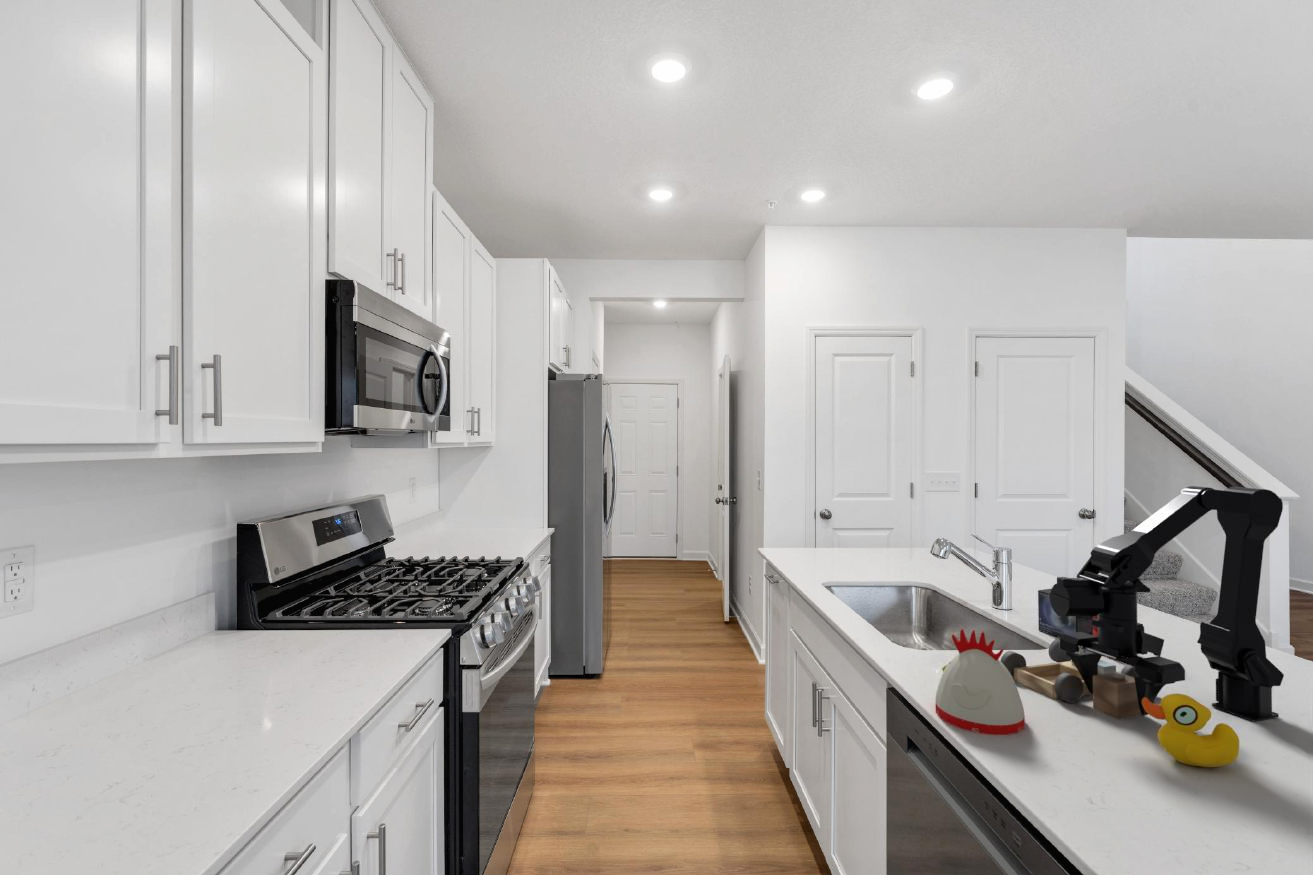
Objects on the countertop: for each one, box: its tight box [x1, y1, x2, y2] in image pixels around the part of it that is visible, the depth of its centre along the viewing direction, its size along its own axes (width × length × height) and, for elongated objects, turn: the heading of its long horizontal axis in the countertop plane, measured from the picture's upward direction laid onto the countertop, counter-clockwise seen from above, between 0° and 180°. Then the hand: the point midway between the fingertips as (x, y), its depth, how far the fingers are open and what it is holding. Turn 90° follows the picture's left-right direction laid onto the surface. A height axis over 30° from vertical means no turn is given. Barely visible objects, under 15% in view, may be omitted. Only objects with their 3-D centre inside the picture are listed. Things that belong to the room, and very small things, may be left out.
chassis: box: [1000, 650, 1139, 704], centre depth 123 cm, size 14×21×5 cm
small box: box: [1037, 588, 1093, 639], centre depth 154 cm, size 11×6×10 cm, turn 17°
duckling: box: [1142, 693, 1240, 768], centre depth 93 cm, size 11×5×10 cm, turn 66°
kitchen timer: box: [935, 628, 1026, 736], centre depth 109 cm, size 14×14×15 cm
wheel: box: [1048, 638, 1071, 663], centre depth 135 cm, size 2×5×5 cm, turn 106°
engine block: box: [1092, 671, 1142, 720], centre depth 111 cm, size 4×6×7 cm
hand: (1118, 704), depth 111 cm, fingers open, 9 cm apart
